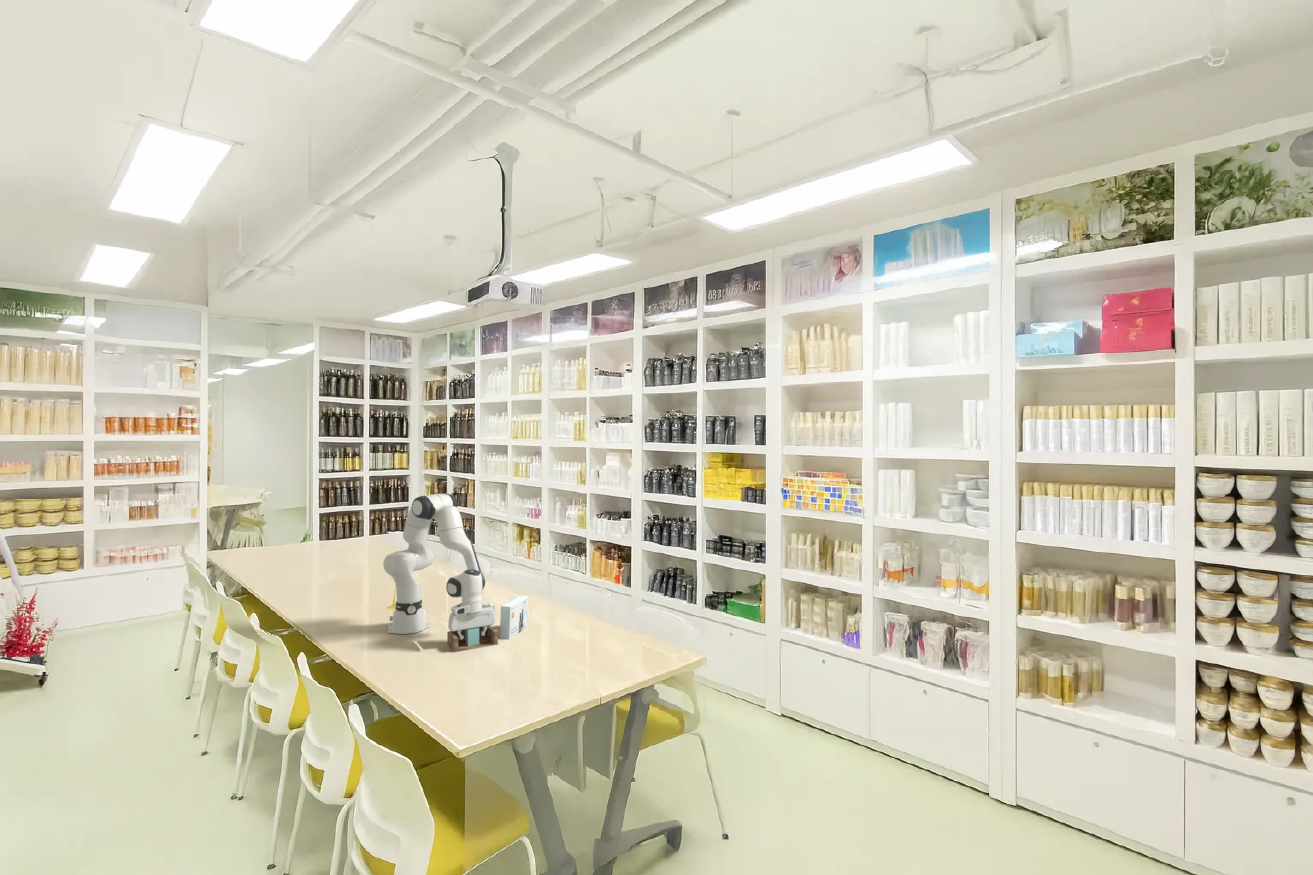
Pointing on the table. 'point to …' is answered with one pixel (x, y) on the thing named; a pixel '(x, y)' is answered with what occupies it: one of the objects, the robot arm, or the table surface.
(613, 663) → the table surface
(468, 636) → the teal block
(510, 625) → the skincare box
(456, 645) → the open-fronted box
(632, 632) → the table surface
